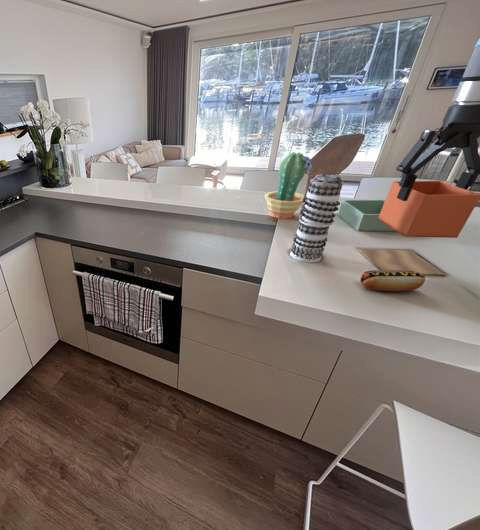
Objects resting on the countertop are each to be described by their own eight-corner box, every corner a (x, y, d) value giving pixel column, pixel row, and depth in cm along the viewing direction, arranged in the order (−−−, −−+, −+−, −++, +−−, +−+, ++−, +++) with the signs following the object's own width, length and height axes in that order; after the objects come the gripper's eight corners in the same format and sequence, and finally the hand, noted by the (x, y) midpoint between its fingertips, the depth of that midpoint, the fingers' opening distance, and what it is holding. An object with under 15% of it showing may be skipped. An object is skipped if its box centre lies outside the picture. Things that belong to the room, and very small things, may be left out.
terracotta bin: (421, 218, 83) (440, 180, 77) (457, 237, 72) (481, 195, 66) (377, 218, 85) (392, 181, 80) (405, 236, 74) (425, 195, 69)
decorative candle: (282, 253, 93) (300, 175, 81) (302, 247, 96) (324, 170, 83) (307, 265, 86) (332, 182, 73) (329, 258, 89) (357, 176, 76)
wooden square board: (410, 252, 88) (411, 250, 88) (444, 276, 77) (445, 274, 76) (358, 250, 91) (359, 249, 91) (383, 273, 80) (384, 272, 79)
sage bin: (378, 216, 113) (384, 199, 110) (403, 232, 100) (412, 214, 96) (337, 215, 116) (342, 200, 113) (357, 232, 103) (363, 214, 99)
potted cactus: (283, 224, 113) (298, 158, 100) (252, 213, 125) (263, 152, 113) (310, 216, 118) (328, 152, 105) (278, 206, 130) (291, 147, 118)
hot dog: (424, 295, 71) (434, 278, 68) (364, 294, 73) (371, 278, 70) (409, 284, 75) (418, 268, 72) (353, 283, 77) (360, 267, 74)
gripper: (524, 98, 64) (471, 194, 75) (401, 106, 69) (368, 195, 80) (561, 99, 58) (496, 203, 69) (422, 107, 63) (383, 203, 74)
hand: (427, 199), depth 75 cm, fingers closed on terracotta bin, 11 cm apart
